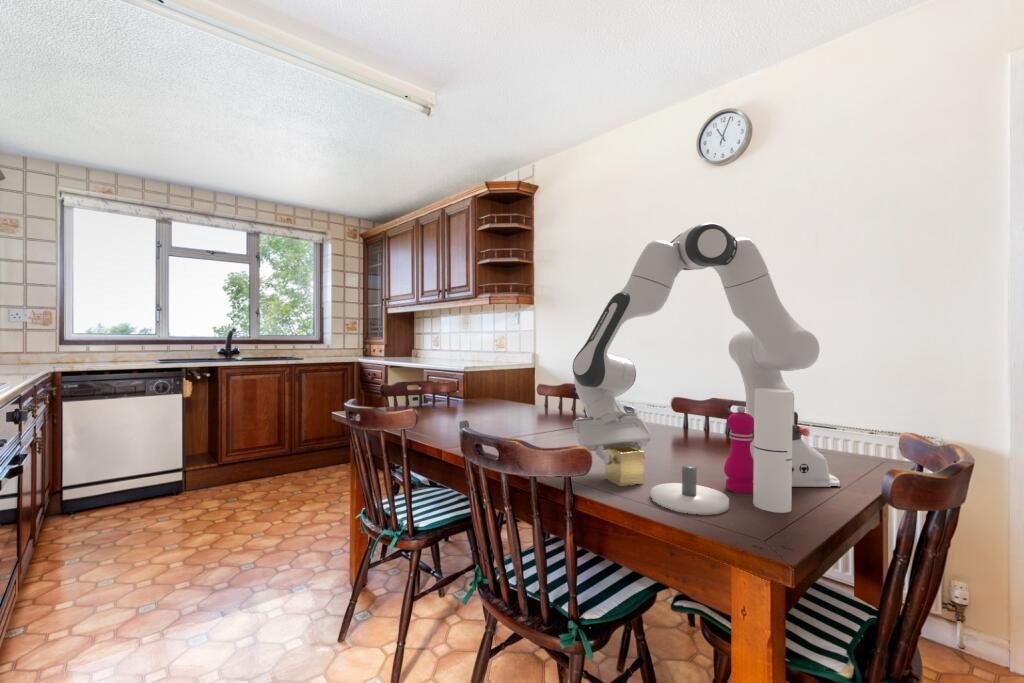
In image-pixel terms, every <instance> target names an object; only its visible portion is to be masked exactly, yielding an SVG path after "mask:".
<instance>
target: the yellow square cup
mask: <svg viewBox="0 0 1024 683" xmlns="http://www.w3.org/2000/svg"><path fill="white" fill-rule="evenodd" d="M605 453H606V454H607V455H611V457H612V459H613V463H612V464H610V465H605V464H604V466H605V469H604V470H605V471H604V478H606V479H605V480H607V479H608V480H607V481H609V480H610V481H609V482H611V481H612V482H611V483H613V484H614V483H615V484H614V485H616V484H617V485H616V486H618V485H619V486H618V487H620V486H622V487H628V486H627V485H630V486H636V485H635V484H639V485H644V484H645V459H644V456H645V451H644V450H643V451H642V450H639V449H636V448H634V447H631V446H628V445H627V446H616V447H606V450H605Z"/></svg>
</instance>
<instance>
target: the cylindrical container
mask: <svg viewBox="0 0 1024 683" xmlns="http://www.w3.org/2000/svg"><path fill="white" fill-rule="evenodd" d="M793 394H794V391H793V390H791V389H790V390H784V389H768V388H759V389H755V402H754V479H753V481H752V482H753V493H752V494H753V496H752V504H754V505H753V506H755V507H756V508H757V507H758V508H757V509H760V510H763V511H767V512H769V513H770V512H771V513H772V512H773V513H778V514H779V513H780V514H781V513H783V514H784V513H789V512H791V511H792V491H793V490H792V422H793Z"/></svg>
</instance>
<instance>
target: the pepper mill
mask: <svg viewBox="0 0 1024 683" xmlns="http://www.w3.org/2000/svg"><path fill="white" fill-rule="evenodd" d="M736 411H737V412H733V413H731V414H730V415H729V416H728V417H727V427H728V428H729V429H730V431H729V439H731V441H730V442H731V448H730V453H729V454H728V457H727V458H726V460H725V462H724V465H723V466H724V468H723V473H724V474H725V476H726V477H727V479H726V480H725V487H726V489H728V490H729V491H731V492H734V493H738V494H753V479H754V460H753V458H752V455H751V451H750V443H751V440H753V438H752V436H753V434H752V433H751V432H752V431H753V430H754V418H753V417H752V416H751V415H750V414H747V413H746V406H743V405H739V406H737V409H736Z"/></svg>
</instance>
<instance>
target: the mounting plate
mask: <svg viewBox="0 0 1024 683" xmlns="http://www.w3.org/2000/svg"><path fill="white" fill-rule="evenodd" d="M697 470H698V468H697V466H694V465H689V464H687V465H686V464H685V465H682V466H681V482H669V483H668V482H665V483H662V484H656V485H655V486H653V487H652V488H651V490H650V498H652V499H651V501H653V502H654V503H655V502H656V503H657V505H658V504H659V505H661V506H660V507H662V506H663V507H662V508H664V507H665V508H664V509H666V508H668V509H667V510H669V509H670V510H671V511H673V510H674V512H677V513H682V514H687V513H688V514H689V515H696V514H698V515H700V516H710V515H713V514H714V515H719V514H723V513H725V512H727V511H728V510H729V509H730V498H729V497H728V496H727V495H726V494H725V493H723V492H721V491H719V490H718V489H714V488H710V487H708V486H703V485H698V484H697V473H698V471H697ZM656 503H655V504H656ZM659 505H658V506H659ZM698 515H697V516H698Z"/></svg>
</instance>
